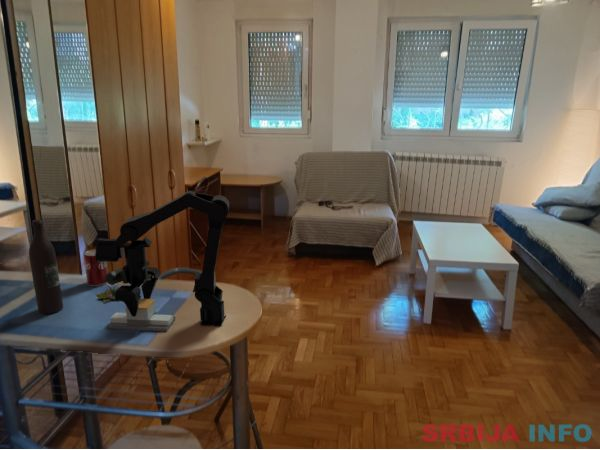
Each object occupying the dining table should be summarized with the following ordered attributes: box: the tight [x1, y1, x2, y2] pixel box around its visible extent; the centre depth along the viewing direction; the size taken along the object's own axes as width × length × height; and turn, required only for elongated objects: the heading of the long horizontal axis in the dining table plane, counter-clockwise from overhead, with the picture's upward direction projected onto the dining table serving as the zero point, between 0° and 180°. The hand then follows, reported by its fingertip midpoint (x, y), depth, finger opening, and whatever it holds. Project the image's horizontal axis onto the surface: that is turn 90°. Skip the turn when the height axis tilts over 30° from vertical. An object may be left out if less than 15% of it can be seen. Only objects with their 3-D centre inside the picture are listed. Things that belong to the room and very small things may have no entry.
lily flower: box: [95, 282, 120, 304], centre depth 151 cm, size 12×12×5 cm
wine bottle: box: [28, 219, 64, 315], centre depth 136 cm, size 7×7×30 cm
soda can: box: [83, 249, 109, 287], centre depth 160 cm, size 7×7×12 cm
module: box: [125, 298, 157, 326], centre depth 132 cm, size 6×6×6 cm
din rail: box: [107, 312, 176, 332], centre depth 132 cm, size 18×7×2 cm, turn 86°
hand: (140, 309), depth 131 cm, fingers open, 9 cm apart
